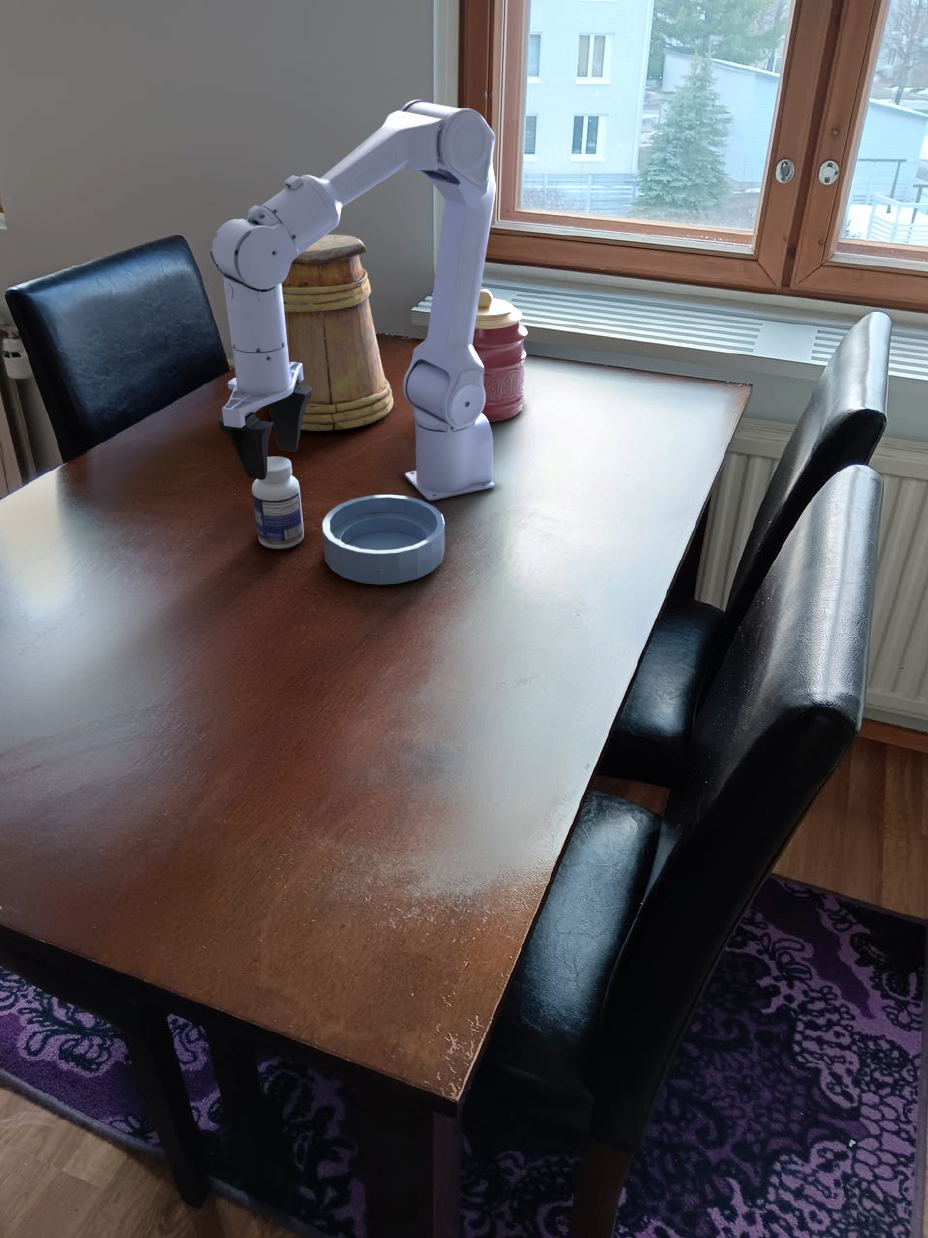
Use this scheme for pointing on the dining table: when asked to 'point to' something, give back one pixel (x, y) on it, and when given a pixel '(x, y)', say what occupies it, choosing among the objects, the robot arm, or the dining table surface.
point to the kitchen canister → (500, 356)
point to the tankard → (334, 336)
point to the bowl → (383, 539)
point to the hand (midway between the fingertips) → (272, 463)
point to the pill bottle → (278, 506)
